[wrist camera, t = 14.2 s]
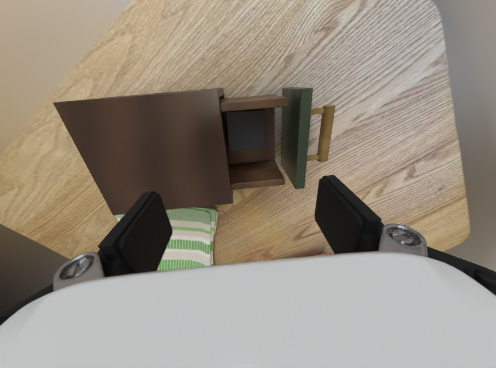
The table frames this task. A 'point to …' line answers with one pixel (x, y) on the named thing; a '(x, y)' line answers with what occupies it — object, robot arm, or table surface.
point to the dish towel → (189, 238)
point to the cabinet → (153, 147)
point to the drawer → (293, 139)
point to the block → (246, 129)
